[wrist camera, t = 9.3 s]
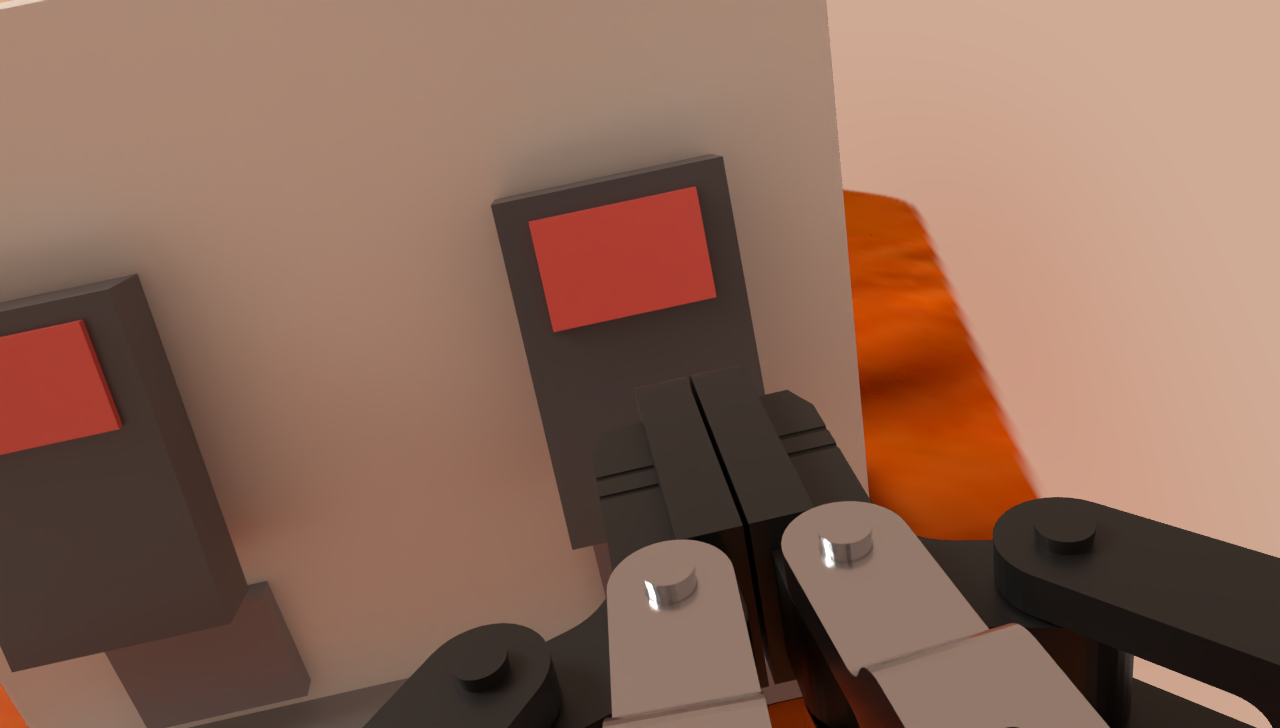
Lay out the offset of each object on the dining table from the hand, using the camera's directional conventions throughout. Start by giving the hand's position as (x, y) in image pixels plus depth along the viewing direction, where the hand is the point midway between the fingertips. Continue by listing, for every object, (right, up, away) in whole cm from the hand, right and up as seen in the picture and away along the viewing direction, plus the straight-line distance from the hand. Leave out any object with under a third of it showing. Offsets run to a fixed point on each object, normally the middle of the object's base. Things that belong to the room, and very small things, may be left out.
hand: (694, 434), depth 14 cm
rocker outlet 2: (0, -3, +10) cm, 10 cm away
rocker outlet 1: (-13, -5, +10) cm, 17 cm away
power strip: (-6, -8, +17) cm, 20 cm away
